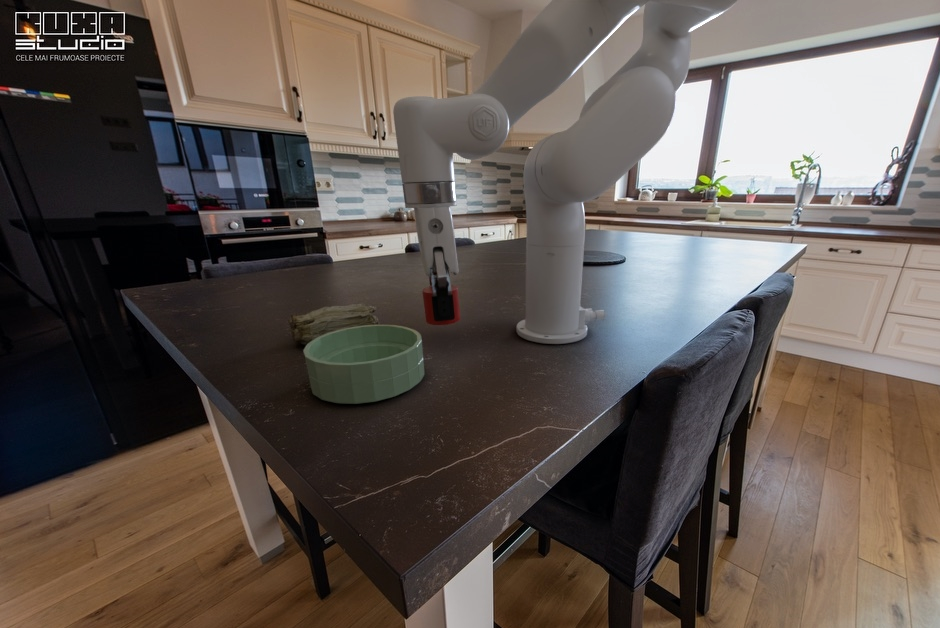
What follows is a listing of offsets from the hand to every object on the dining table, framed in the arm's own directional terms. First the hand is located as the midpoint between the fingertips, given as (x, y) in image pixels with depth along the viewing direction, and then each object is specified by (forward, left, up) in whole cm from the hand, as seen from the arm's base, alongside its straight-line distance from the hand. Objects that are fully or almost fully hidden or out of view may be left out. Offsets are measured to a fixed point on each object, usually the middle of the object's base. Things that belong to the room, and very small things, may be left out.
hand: (442, 313), depth 64 cm
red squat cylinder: (0, 0, -1) cm, 1 cm away
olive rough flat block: (+18, -7, -5) cm, 20 cm away
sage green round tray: (+11, +12, -5) cm, 17 cm away
